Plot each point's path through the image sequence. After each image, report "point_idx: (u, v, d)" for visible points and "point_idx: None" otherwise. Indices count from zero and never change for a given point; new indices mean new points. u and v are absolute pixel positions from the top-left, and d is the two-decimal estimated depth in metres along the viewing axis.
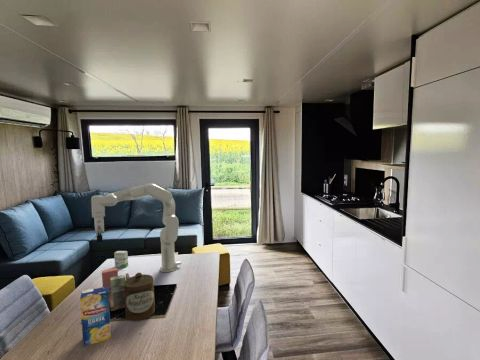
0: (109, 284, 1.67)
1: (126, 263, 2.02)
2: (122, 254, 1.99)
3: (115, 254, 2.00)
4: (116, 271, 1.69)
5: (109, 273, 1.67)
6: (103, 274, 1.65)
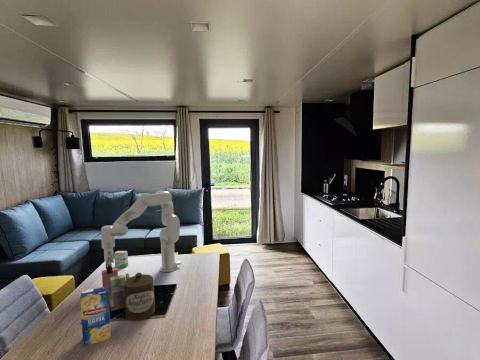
0: (109, 284, 1.67)
1: (126, 263, 2.02)
2: (122, 254, 1.99)
3: (115, 254, 2.00)
4: (116, 271, 1.69)
5: None
6: (103, 274, 1.65)
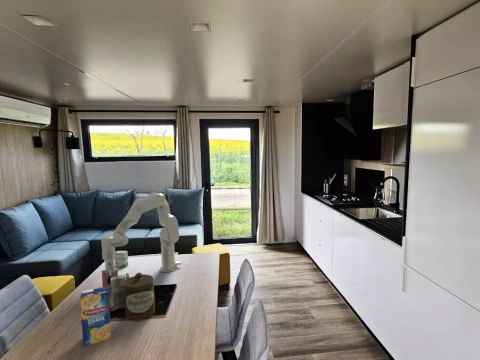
0: None
1: (126, 263, 2.02)
2: (122, 254, 2.00)
3: (115, 254, 2.00)
4: (116, 271, 1.69)
5: None
6: (103, 274, 1.65)
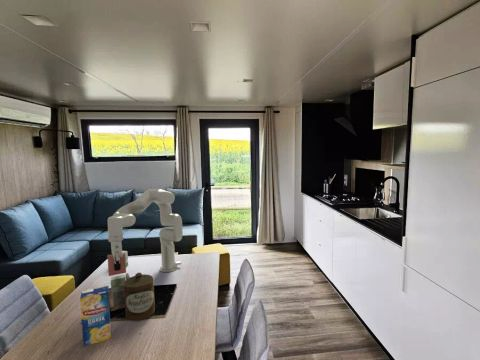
0: None
1: (126, 263, 2.02)
2: None
3: None
4: (124, 256, 1.50)
5: None
6: (109, 258, 1.46)
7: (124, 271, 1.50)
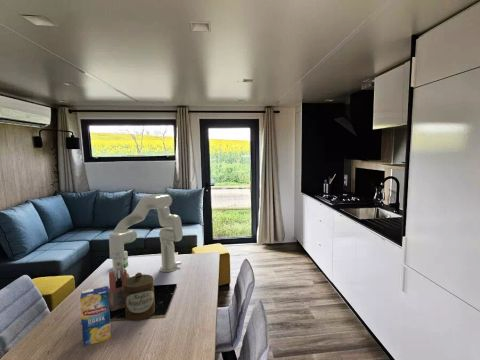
0: None
1: (126, 263, 2.02)
2: None
3: None
4: (125, 272, 1.49)
5: None
6: (110, 276, 1.45)
7: None
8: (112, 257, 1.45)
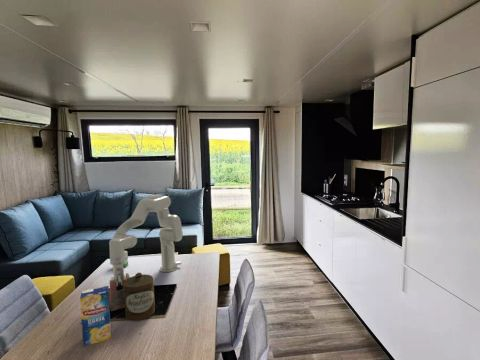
0: None
1: (126, 263, 2.02)
2: None
3: None
4: None
5: None
6: (111, 284, 1.46)
7: None
8: (112, 263, 1.45)
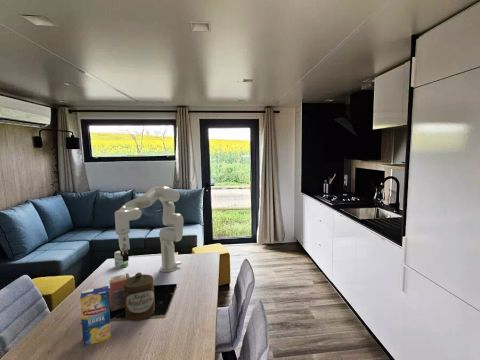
0: None
1: (126, 263, 2.02)
2: None
3: (115, 254, 2.00)
4: None
5: (118, 283, 1.48)
6: (111, 284, 1.46)
7: None
8: (118, 233, 1.51)
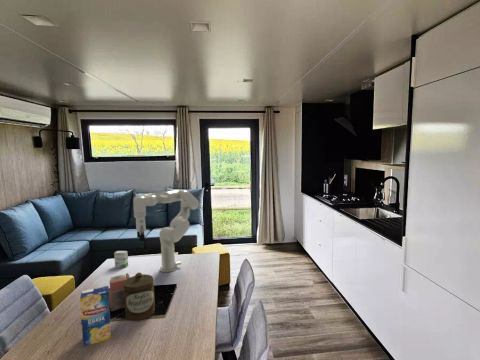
0: None
1: (126, 263, 2.02)
2: (122, 254, 1.99)
3: (115, 254, 2.00)
4: None
5: (118, 283, 1.48)
6: (111, 284, 1.46)
7: None
8: (136, 216, 1.73)
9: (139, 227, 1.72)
